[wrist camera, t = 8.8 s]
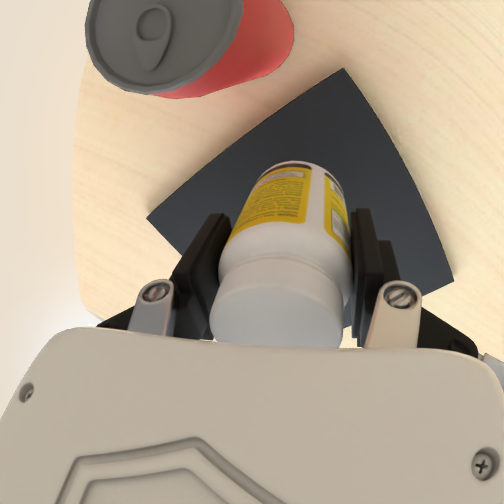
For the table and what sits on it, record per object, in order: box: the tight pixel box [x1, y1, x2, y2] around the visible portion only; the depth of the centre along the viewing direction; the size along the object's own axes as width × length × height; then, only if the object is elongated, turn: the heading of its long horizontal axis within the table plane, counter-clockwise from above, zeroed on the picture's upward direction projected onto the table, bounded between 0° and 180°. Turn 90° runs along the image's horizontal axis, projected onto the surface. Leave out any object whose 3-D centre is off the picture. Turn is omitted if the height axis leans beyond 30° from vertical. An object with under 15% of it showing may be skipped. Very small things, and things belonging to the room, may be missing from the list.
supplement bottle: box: [209, 161, 353, 348], centre depth 12 cm, size 5×5×8 cm
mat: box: [146, 68, 454, 328], centre depth 24 cm, size 20×20×1 cm
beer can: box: [85, 0, 294, 99], centre depth 11 cm, size 7×7×12 cm
